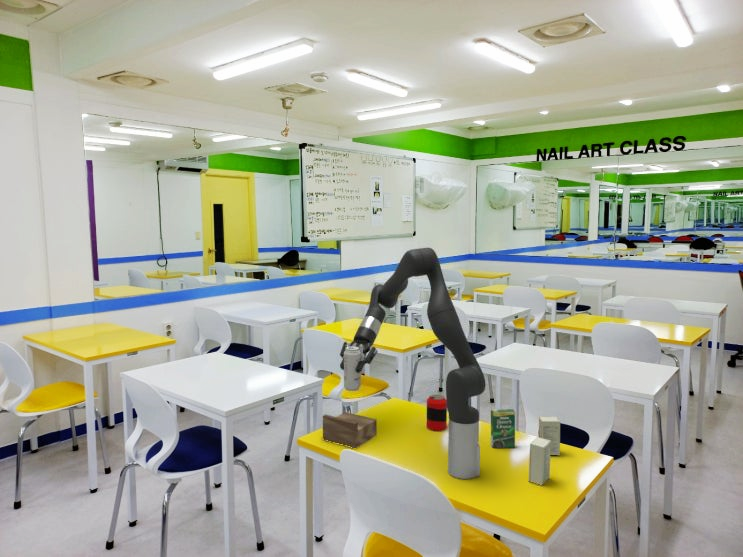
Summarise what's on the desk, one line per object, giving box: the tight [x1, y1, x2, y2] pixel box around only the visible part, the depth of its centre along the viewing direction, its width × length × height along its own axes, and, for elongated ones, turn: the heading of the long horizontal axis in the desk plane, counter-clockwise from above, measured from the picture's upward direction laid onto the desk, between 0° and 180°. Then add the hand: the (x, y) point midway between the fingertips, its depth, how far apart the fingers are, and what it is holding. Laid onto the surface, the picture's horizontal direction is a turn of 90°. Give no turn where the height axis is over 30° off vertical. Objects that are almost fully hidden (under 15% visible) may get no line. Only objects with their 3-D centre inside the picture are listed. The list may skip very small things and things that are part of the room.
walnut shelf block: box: [322, 411, 378, 449], centre depth 186 cm, size 14×14×9 cm
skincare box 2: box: [528, 436, 551, 485], centre depth 155 cm, size 6×4×12 cm
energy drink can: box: [343, 346, 362, 392], centre depth 184 cm, size 6×6×15 cm
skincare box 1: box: [538, 416, 561, 455], centre depth 173 cm, size 6×4×12 cm
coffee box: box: [490, 408, 516, 449], centre depth 178 cm, size 8×3×13 cm, turn 90°
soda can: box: [426, 394, 448, 432], centre depth 195 cm, size 8×8×12 cm
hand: (349, 370), depth 182 cm, fingers closed on energy drink can, 6 cm apart
